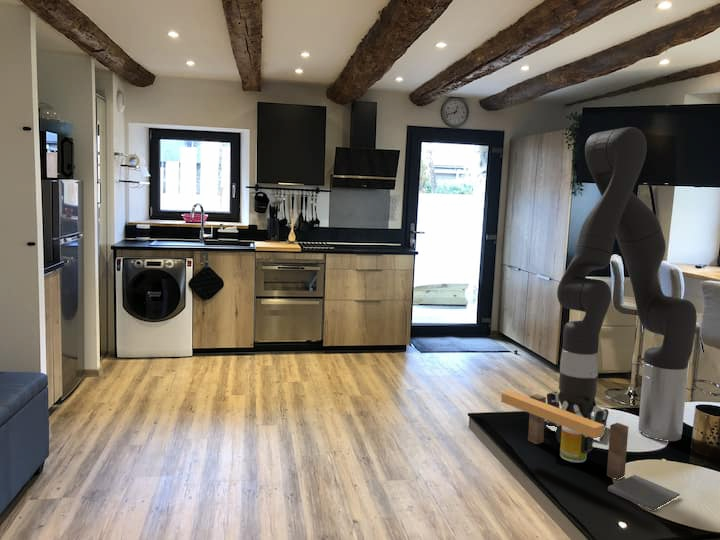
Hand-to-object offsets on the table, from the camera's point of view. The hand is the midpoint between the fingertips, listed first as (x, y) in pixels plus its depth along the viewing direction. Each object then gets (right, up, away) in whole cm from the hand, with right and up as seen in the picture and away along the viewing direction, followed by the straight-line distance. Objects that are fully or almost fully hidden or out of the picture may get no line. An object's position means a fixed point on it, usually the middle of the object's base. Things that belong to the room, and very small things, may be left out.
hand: (573, 446), depth 125 cm
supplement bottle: (0, -3, 0) cm, 3 cm away
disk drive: (+6, -1, +17) cm, 18 cm away
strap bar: (-7, +8, -6) cm, 12 cm away
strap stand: (0, -2, 0) cm, 2 cm away
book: (+8, -4, -15) cm, 17 cm away
